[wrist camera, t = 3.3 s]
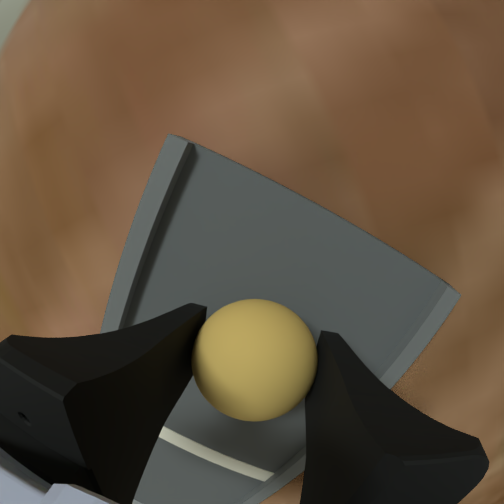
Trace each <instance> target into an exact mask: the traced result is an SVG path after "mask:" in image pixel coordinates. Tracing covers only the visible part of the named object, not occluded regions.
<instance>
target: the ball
mask: <svg viewBox="0 0 504 504" xmlns="http://www.w3.org/2000/svg"><path fill="white" fill-rule="evenodd" d="M191 365H192V372H193V376H194V379H195V382H196V384H197V387H198V388H199V390H200V392H201V394H202V395H203V396H204V398H205V399H206V400H207V401H208V402H209V403H210V404H211V405H212V406H213V407H214V408H216V409H217V410H218V411H220V412H221V413H223V414H225V415H227V416H230V417H232V418H235V419H239V420H243V421H265V420H270V419H273V418H277V417H279V416H282V415H284V414H285V413H287V412H289V411H290V410H292V409H293V408H295V407H296V406H297V405H298V404H299V403H300V402H301V401H302V400H303V399H304V398H305V396H306V395H307V394H308V392H309V390H310V388H311V386H312V384H313V382H314V379H315V376H316V372H317V365H318V354H317V349H316V344H315V341H314V338H313V336H312V334H311V332H310V330H309V328H308V327H307V325H306V324H305V323H304V321H303V320H302V319H301V318H300V317H299V316H298V315H297V314H296V313H294V312H293V311H292V310H290V309H289V308H287V307H285V306H283V305H281V304H279V303H276V302H273V301H269V300H263V299H246V300H240V301H237V302H234V303H231V304H228V305H226V306H224V307H222V308H221V309H219V310H218V311H216V312H215V313H214V314H213V315H211V316H210V317H209V318H208V319H207V321H206V322H205V323H204V324H203V325H202V327H201V329H200V330H199V332H198V334H197V336H196V339H195V341H194V345H193V349H192V357H191Z"/></svg>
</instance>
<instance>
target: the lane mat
mask: <svg viewBox="0 0 504 504" xmlns="http://www.w3.org/2000/svg"><path fill="white" fill-rule="evenodd" d="M460 296H461V294H460V293H458V292H457V291H456V290H455V289H454V288H453V287H452V286H450V285H449V284H448V283H447V282H445V281H444V280H442V279H441V278H439V277H438V276H436V275H435V274H433V273H432V272H430V271H428V270H427V269H425V268H424V267H422V266H421V265H419V264H418V263H416V262H415V261H413V260H411V259H410V258H408V257H407V256H405V255H404V254H402V253H400V252H399V251H397V250H396V249H394V248H392V247H391V246H389V245H387V244H386V243H384V242H382V241H381V240H379V239H377V238H376V237H374V236H372V235H371V234H369V233H367V232H366V231H364V230H362V229H361V228H359V227H357V226H356V225H354V224H352V223H350V222H349V221H347V220H345V219H343V218H342V217H340V216H338V215H336V214H335V213H333V212H331V211H329V210H327V209H326V208H324V207H322V206H320V205H318V204H317V203H315V202H313V201H311V200H309V199H307V198H305V197H304V196H302V195H300V194H298V193H296V192H294V191H292V190H290V189H289V188H287V187H285V186H283V185H281V184H279V183H277V182H275V181H273V180H271V179H269V178H267V177H265V176H263V175H261V174H259V173H257V172H255V171H253V170H251V169H249V168H247V167H245V166H243V165H241V164H239V163H237V162H235V161H233V160H231V159H229V158H227V157H224V156H222V155H220V154H218V153H216V152H214V151H212V150H210V149H207V148H205V147H203V146H201V145H199V144H196V143H194V142H192V141H190V140H187V139H185V138H183V137H180V136H176V135H172V134H168V136H167V138H166V140H165V142H164V145H163V147H162V149H161V151H160V154H159V156H158V158H157V161H156V163H155V165H154V168H153V170H152V173H151V175H150V178H149V180H148V183H147V185H146V188H145V190H144V193H143V195H142V198H141V201H140V203H139V206H138V209H137V211H136V214H135V217H134V220H133V223H132V225H131V228H130V231H129V234H128V237H127V240H126V243H125V246H124V249H123V252H122V256H121V259H120V262H119V265H118V268H117V272H116V275H115V279H114V282H113V285H112V289H111V293H110V296H109V300H108V304H107V307H106V311H105V315H104V319H103V323H102V327H101V332H100V334H101V333H107V332H111V331H115V330H120V329H123V328H127V327H130V326H133V325H136V324H139V323H142V322H144V321H147V320H150V319H153V318H155V317H158V316H160V315H162V314H165V313H167V312H169V311H172V310H174V309H176V308H179V307H181V306H183V305H186V304H188V303H195V304H199V305H203V306H207V314H206V321H207V319H208V318H209V317H210V316H211V315H213V314H214V313H215V312H216V311H218V310H219V309H221V308H222V307H224V306H226V305H228V304H231V303H234V302H237V301H240V300H246V299H263V300H269V301H273V302H276V303H279V304H281V305H283V306H285V307H287V308H289V309H290V310H292V311H293V312H294V313H296V314H297V315H298V316H299V317H300V318H301V319H302V320H303V321H304V323H305V324H306V325H307V327H308V328H309V330H310V332H311V334H312V336H313V338H314V341H315V344H316V346H317V343H318V339H319V336H320V333H321V330H323V331H329V332H335V333H339V335H340V336H341V337H342V338H343V339H344V340H345V342H346V343H347V344H348V345H349V346H350V348H351V349H352V350H353V351H354V353H355V354H356V355H357V356H358V357H359V359H360V360H361V361H362V362H363V363H364V364H365V365H366V366H367V368H368V369H369V370H370V371H371V372H372V373H373V374H374V375H375V376H376V377H377V378H378V379H379V380H380V381H381V382H382V383H383V384H384V385H385V386H387V387H388V388H389V389H391V388H392V387H393V386H394V385H395V383H396V382H397V381H398V380H399V379H400V378H401V376H402V375H403V374H404V373H405V372H406V370H407V369H408V368H409V367H410V366H411V364H412V363H413V362H414V361H415V359H416V358H417V357H418V356H419V354H420V353H421V352H422V351H423V349H424V348H425V347H426V345H427V344H428V343H429V341H430V340H431V339H432V337H433V336H434V335H435V333H436V332H437V330H438V329H439V328H440V326H441V325H442V323H443V322H444V321H445V319H446V318H447V316H448V315H449V313H450V312H451V310H452V309H453V307H454V306H455V304H456V303H457V301H458V300H459V298H460ZM305 462H306V424H305V398H304V399H303V400H302V401H301V402H300V403H299V404H298V405H297V406H296V407H295V408H293V409H292V410H290V411H289V412H287V413H285V414H284V415H282V416H279V417H277V418H273V419H270V420H265V421H243V420H239V419H235V418H232V417H230V416H227V415H225V414H223V413H221V412H220V411H218V410H217V409H216V408H214V407H213V406H212V405H211V404H210V403H209V402H208V401H207V400H206V399H205V398H204V396H203V395H202V394H201V392H200V390H199V388H198V387H197V384H196V382H195V379H194V376H192V378H191V380H190V382H189V383H188V385H187V387H186V388H185V390H184V392H183V393H182V395H181V397H180V398H179V400H178V402H177V403H176V405H175V407H174V408H173V410H172V412H171V413H170V415H169V416H168V418H167V420H166V422H165V424H164V426H163V428H162V430H161V432H160V435H159V437H158V439H157V441H156V444H155V446H154V448H153V451H152V453H151V455H150V458H149V460H148V463H147V465H146V467H145V470H144V473H143V475H142V478H141V480H140V483H139V486H138V488H137V491H136V494H135V497H134V500H133V502H132V504H259V503H260V502H262V501H263V500H265V499H266V498H268V497H269V496H271V495H272V494H273V493H275V492H276V491H278V490H279V489H280V488H282V487H283V486H285V485H286V484H287V483H289V482H290V481H291V480H293V479H294V478H295V477H297V476H298V475H299V474H300V473H302V472H303V471H304V470H305Z"/></svg>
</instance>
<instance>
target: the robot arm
mask: <svg viewBox="0 0 504 504" xmlns="http://www.w3.org/2000/svg"><path fill="white" fill-rule="evenodd" d="M206 314H207V306H203V305H199V304H195V303H188V304H186V305H183V306H181V307H179V308H176V309H174V310H172V311H169V312H167V313H165V314H162V315H160V316H158V317H155V318H153V319H150V320H147V321H144V322H142V323H139V324H136V325H133V326H130V327H127V328H123V329H120V330H115V331H111V332H107V333H101V334H94V335H87V336H79V337H65V338H41V337H29V336H18V335H10V336H9V337H7V338H6V339H5V340H3V341H2V342H0V504H132V502H133V500H134V497H135V494H136V491H137V488H138V486H139V483H140V480H141V478H142V475H143V473H144V470H145V467H146V465H147V463H148V460H149V458H150V455H151V453H152V451H153V448H154V446H155V444H156V441H157V439H158V437H159V435H160V432H161V430H162V428H163V426H164V424H165V422H166V420H167V418H168V416H169V415H170V413H171V412H172V410H173V408H174V407H175V405H176V403H177V402H178V400H179V398H180V397H181V395H182V393H183V392H184V390H185V388H186V387H187V385H188V383H189V382H190V380H191V378H192V376H193V372H192V365H191V357H192V349H193V345H194V341H195V339H196V336H197V334H198V332H199V330H200V329H201V327H202V325H203V324H204V323H205V322H206ZM316 349H317V354H318V365H317V372H316V376H315V379H314V382H313V384H312V386H311V388H310V390H309V392H308V394H307V395H306V396H305V424H306V462H305V471H304V479H303V486H302V493H301V500H300V504H457V503H459V502H460V501H461V500H462V499H463V498H464V497H465V496H466V495H467V494H468V493H469V492H470V491H471V490H472V489H474V488H475V487H476V486H477V484H478V483H479V482H480V481H481V480H482V479H483V477H484V475H485V473H486V472H487V470H488V467H489V460H488V458H487V456H486V453H485V451H484V449H483V447H482V445H481V442H480V440H479V439H478V438H476V437H474V436H471V435H468V434H466V433H463V432H460V431H458V430H455V429H452V428H450V427H448V426H446V425H444V424H442V423H440V422H438V421H436V420H434V419H432V418H430V417H429V416H427V415H425V414H423V413H422V412H420V411H419V410H417V409H416V408H414V407H413V406H411V405H410V404H408V403H407V402H405V401H404V400H403V399H401V398H400V397H399V396H397V395H396V394H395V393H394V392H393V391H391V390H390V389H389V388H388V387H387V386H385V385H384V384H383V383H382V382H381V381H380V380H379V379H378V378H377V377H376V376H375V375H374V374H373V373H372V372H371V371H370V370H369V369H368V368H367V366H366V365H365V364H364V363H363V362H362V361H361V360H360V359H359V357H358V356H357V355H356V354H355V353H354V351H353V350H352V349H351V348H350V346H349V345H348V344H347V343H346V342H345V340H344V339H343V338H342V337H341V336H340V335H339V333H335V332H329V331H323V330H321V333H320V336H319V339H318V343H317V346H316Z"/></svg>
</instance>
